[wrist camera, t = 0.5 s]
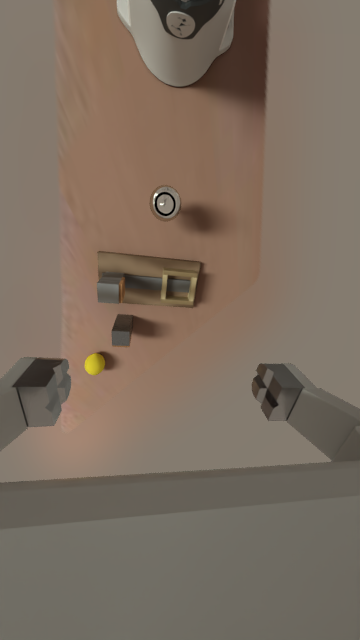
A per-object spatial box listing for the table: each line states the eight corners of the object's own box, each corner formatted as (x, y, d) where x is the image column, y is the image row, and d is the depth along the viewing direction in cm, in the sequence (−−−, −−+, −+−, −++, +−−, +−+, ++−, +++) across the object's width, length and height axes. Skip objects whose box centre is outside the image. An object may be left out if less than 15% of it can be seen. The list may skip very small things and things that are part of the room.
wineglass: (181, 211, 46) (189, 210, 35) (159, 225, 47) (160, 228, 36) (167, 184, 43) (172, 174, 33) (144, 200, 44) (142, 195, 33)
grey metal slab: (117, 314, 55) (111, 330, 47) (132, 315, 56) (129, 331, 48) (117, 329, 57) (112, 347, 49) (132, 329, 58) (129, 348, 50)
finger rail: (99, 251, 48) (84, 260, 37) (199, 261, 51) (210, 272, 41) (101, 299, 53) (89, 319, 43) (192, 305, 57) (200, 325, 46)
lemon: (88, 348, 60) (82, 357, 55) (107, 349, 61) (103, 359, 56) (87, 369, 62) (81, 379, 57) (106, 370, 63) (102, 381, 58)
